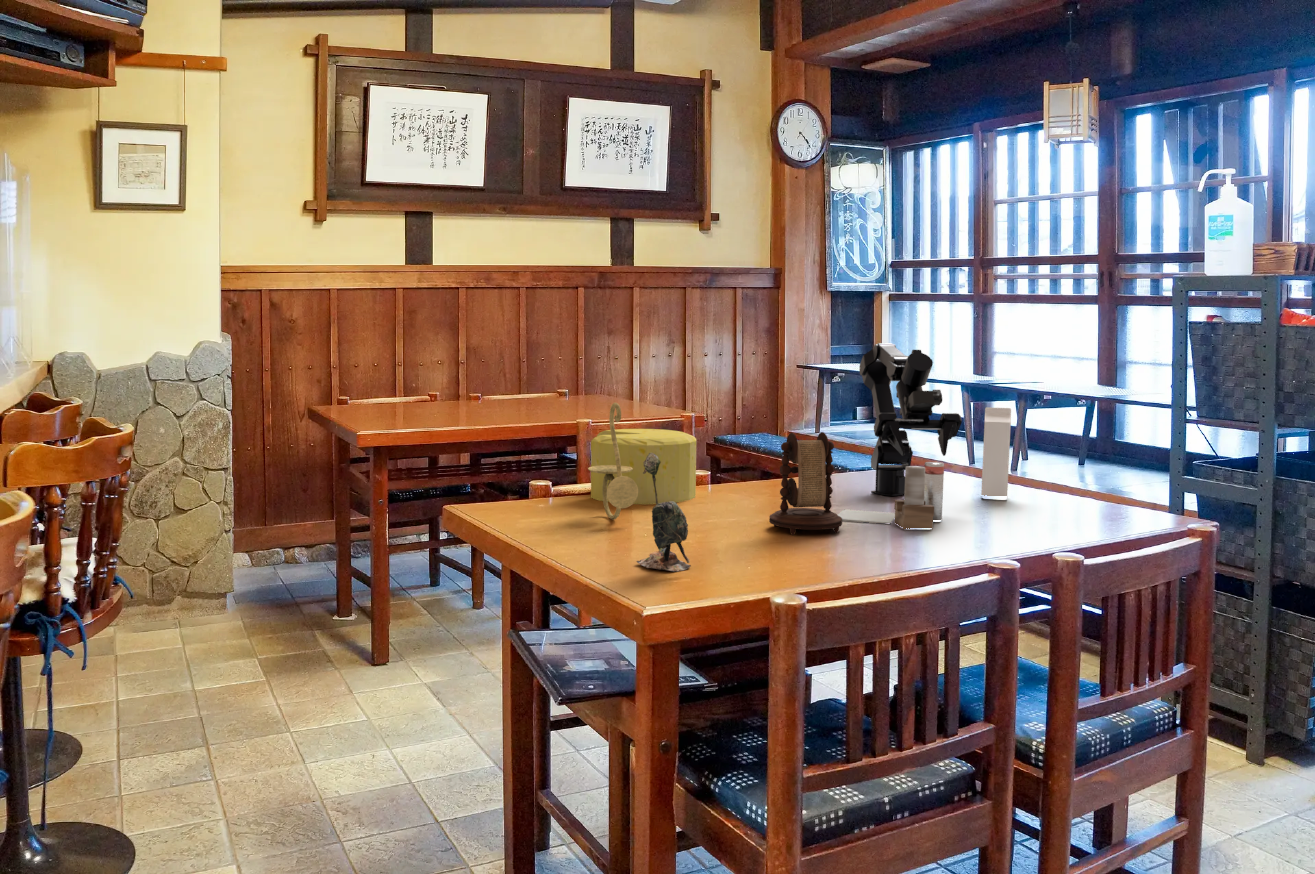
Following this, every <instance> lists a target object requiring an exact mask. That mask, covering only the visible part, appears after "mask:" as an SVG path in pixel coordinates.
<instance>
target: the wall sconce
mask: <svg viewBox="0 0 1315 874" xmlns="http://www.w3.org/2000/svg"><path fill="white" fill-rule="evenodd" d="M609 409H610V410H609V417H608V418H609V430H610V431H611V437H612V442H613V447H614V453H615V460H616V465H602V466H592V467H591V466H589V467H587V469H588V471H590V473H591V472H595V473H602V474H606V475H605V476H604V480H603V501H602V502H603V507H604V511H605V513H606V514H605V515H606V516H607V517H608V518H609V519H610V520H611V521H613V520H614V521H615V520H617V519H618V517H619V516H620V514H621V510H622V509H627V508H629V507H631V506H632V505H634V504H633V503H634V502H635V501H636V499H637V496H638V487H637V485H636V483H635V481H634V480H633V479H631V478H629V477H626V476H622V473H627V472H630V471H632V469H633V468H631V467H627V466H621V463H620V455H619V449H618V444H617V439H616V434H615V430H616V429H615V423H619V422H621V419H622V410H621V406H620V404H619V403H618V402H613V403H612V404H611V406H610V408H609ZM615 411H616V415H615ZM613 474H617V478H614V476H613ZM608 480H611V482H610V481H609V483H608V488H607V482H608ZM607 498H608V500H609V502H608V501H607ZM609 504H611V506H613V507H615V508H616V509H615V511H614V514H613V513H612V512H611V510H610V506H609Z"/></svg>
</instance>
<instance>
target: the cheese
mask: <svg viewBox="0 0 1315 874" xmlns="http://www.w3.org/2000/svg"><path fill="white" fill-rule="evenodd" d="M615 434H616V439H617V444H618V449H619V455H620V463H621V466H627V467H631V468H633V469H632V471H630V472H627V473H622V476H626V477H629V478H631V479H633V480H634V481H635V483H636V485H637V487H638V496H637V499H636V501H635V502H634V503H633V504H632V505H656V498H655V488H654V483H653V478H652V474H650V473H648V472H646V473H645V474H643V472H644V470H645V467H644V465H643V464H644V463H643V462H644V461H645V460H646V457H647V456H648V454H649V453H654V454H655V455H656V456H657V457H658V458H659V460H660V462H661V463H660V464H659V468H658V469H659V470H658V471H657V474H656V475H655V478H656V483H655V485H656V491H657V501H658V503H662V502H669V501H674V502H675V503H682V502H687V501H691V500H692V499H695V498H696V488H697V487H696V486H697V485H696V484H697V483H696V482H697V476H696V475H697V437H695V436H694V435H691V434H689V433H687V432H684V431H678V430H671V429H662V428H661V429H657V428H656V429H655V428H622V429H621V428H620V429H618V428H617V429H615ZM590 443H591V444H590V467H592V466H602V465H616V460H615V453H614V447H613V442H612V437H611V431H610V429H607V430H603V431H601V432H599V433H598V434H597V435H596V436H595V437H593V438H592V439H591V441H590ZM605 475H606V474H602V473H595V472H591V471H590V499H592V498H593V499H592V500H596V501H599V502H603V480H604V476H605ZM613 476H614V478H617V474H613ZM609 481H610V482H611V480H608V482H607V488H608V483H609ZM607 501H608V503H610V502H609V500H608V498H607Z"/></svg>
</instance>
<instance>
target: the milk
mask: <svg viewBox="0 0 1315 874" xmlns="http://www.w3.org/2000/svg"><path fill="white" fill-rule="evenodd" d="M1011 423H1012V409H1011V408H1010V407H989V406H986V407H985V409H984V427H983V428H984V429H983V447H982V449H983V450H982V451H983V452H982V453H983V454H982V472H981V490H980V491H981V492H980V493H981V495H984V496H985V495H987V496H1007V497H1008V489H1009V488H1008V487H1009V486H1008V485H1009V484H1008V483H1009V466H1010V465H1009V464H1010V444H1011V427H1012V426H1011ZM981 495H980V496H981Z"/></svg>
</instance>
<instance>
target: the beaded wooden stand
mask: <svg viewBox="0 0 1315 874" xmlns="http://www.w3.org/2000/svg"><path fill="white" fill-rule="evenodd" d="M780 448H781V449H780V450H782V452H781V454H782V455H783V456H782V458H781V464H782V465H780V467H779V473H780V474H781V477H782V480H781V482H780V485H781V489H780V490H779V495H780V496H782V497H780V500H781V503H780V505H779V508H780V509H779V510H777V511H774V512H773V513H771V514H769V518H768V519H769V520H768V521H769V524H771V525H772V526H774V527H780V528H785V529H789V532H790V534H791V536H795V534H796V531H797V530H807V531H809V530H813V531H814V530H817V531H818V530H830V529H833V531H834V533H835V534H838V533H839V530H840V527H841V526H842V525H843V521H842V518H841V517H840V516H838V514H837V513H835V512H833V511H831V509H832V501H831V498H832V496H831V495H832V494H833V492H834V491H833V490H834V489H833V487H832V486H831V485H832V484H833V482H832V477H831V476H833V473H834V471H835V466H834V464H832V462H833V461H834V460H833V455H832V454H833V453H834V451H833V450H834V448H835V444H834V443H833V441H831V440H829V438H828V436H827V434H826V433H825V432H819V433H818V435H817V438H816V440H815V439H812V440H807V439H805V440H803V439H802V440H798V438H797V435H796V434H795V433H794V432H790V433H789V434H788V435H787V437H786V441H784V442H783V443H781V445H780ZM790 461H791V462H792V464H793V465H795V464H796V465H797V466H792V467H791V466H790V465H789V464H790ZM791 473H792V474H797V475H798V477H797V478H798V483H796V480H795V479H794V477H789V476H790V474H791ZM797 484H798V486H797ZM789 505H790V506H792V507H791V508H789ZM813 507H814V508H813ZM816 507H817V508H816ZM818 507H819V508H818ZM821 507H823V509H822V508H821Z"/></svg>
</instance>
